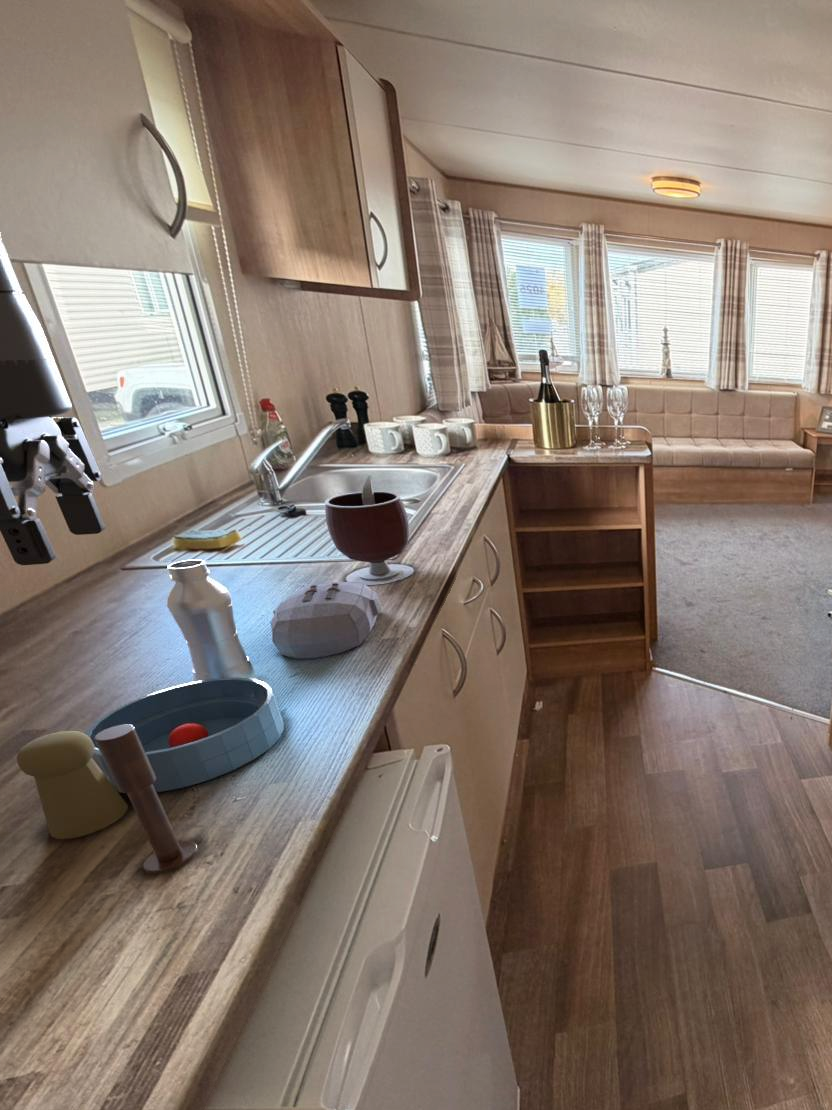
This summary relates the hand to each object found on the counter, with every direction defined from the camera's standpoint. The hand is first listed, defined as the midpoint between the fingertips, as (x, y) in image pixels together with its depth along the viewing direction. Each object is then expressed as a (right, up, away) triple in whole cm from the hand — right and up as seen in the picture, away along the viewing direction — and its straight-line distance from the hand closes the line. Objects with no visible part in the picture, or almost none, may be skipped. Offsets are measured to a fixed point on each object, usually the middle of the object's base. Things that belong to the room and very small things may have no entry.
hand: (64, 547), depth 57 cm
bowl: (-11, -24, +24) cm, 36 cm away
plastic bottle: (-18, -18, +37) cm, 45 cm away
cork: (-11, -29, +12) cm, 34 cm away
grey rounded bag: (-16, -11, +54) cm, 57 cm away
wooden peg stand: (+2, -32, +8) cm, 33 cm away
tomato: (-11, -22, +22) cm, 33 cm away
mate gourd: (-24, 0, +80) cm, 83 cm away
